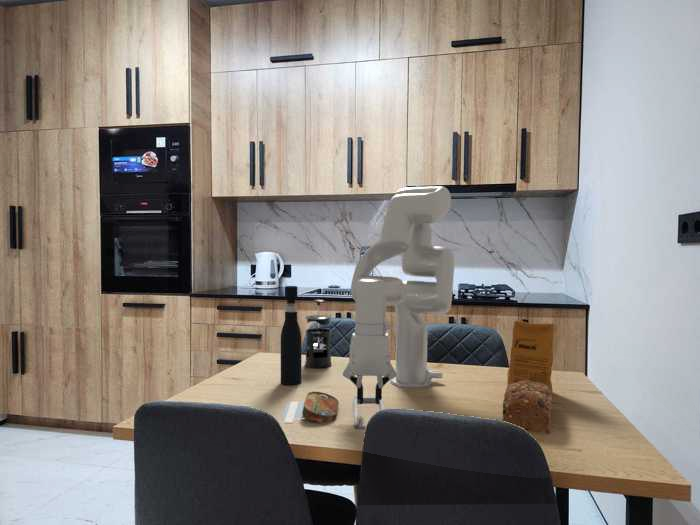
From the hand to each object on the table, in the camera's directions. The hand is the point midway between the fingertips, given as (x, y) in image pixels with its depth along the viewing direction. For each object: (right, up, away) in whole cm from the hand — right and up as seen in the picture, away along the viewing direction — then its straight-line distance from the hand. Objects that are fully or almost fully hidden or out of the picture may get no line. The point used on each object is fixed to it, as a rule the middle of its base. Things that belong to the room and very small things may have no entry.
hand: (369, 401), depth 118 cm
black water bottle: (-23, -3, +28) cm, 37 cm away
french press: (-16, -2, +51) cm, 53 cm away
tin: (-8, -3, +1) cm, 9 cm away
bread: (+38, -5, -3) cm, 39 cm away
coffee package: (+46, -4, +17) cm, 49 cm away
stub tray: (0, -5, +1) cm, 5 cm away
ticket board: (-17, -4, +1) cm, 18 cm away
